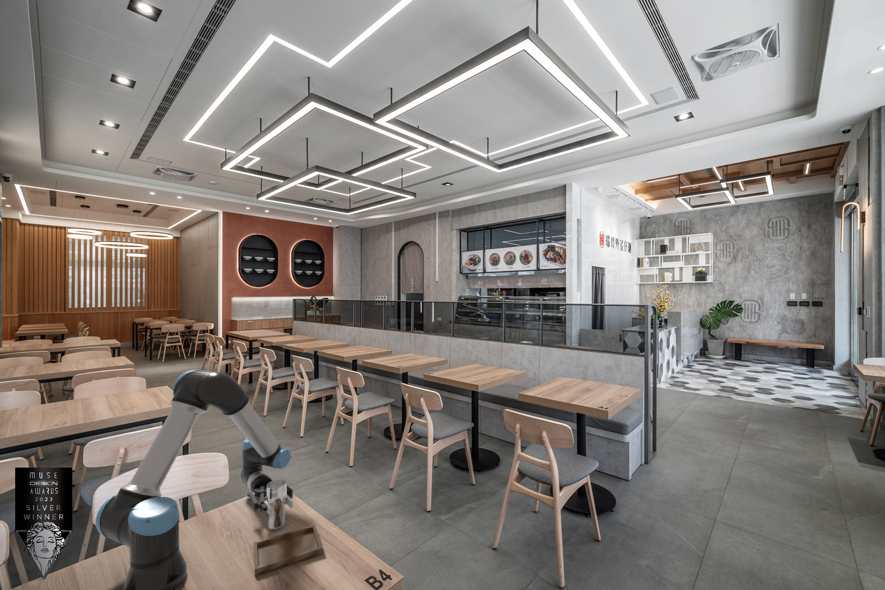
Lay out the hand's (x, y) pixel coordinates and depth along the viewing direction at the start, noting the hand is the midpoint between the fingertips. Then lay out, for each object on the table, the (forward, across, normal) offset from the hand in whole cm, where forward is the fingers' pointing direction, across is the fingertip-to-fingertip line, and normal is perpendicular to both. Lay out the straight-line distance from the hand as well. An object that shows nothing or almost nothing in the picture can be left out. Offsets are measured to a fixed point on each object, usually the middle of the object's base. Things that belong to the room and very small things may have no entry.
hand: (281, 508), depth 136 cm
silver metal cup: (-5, 0, -8) cm, 10 cm away
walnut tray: (+11, +2, -9) cm, 14 cm away
